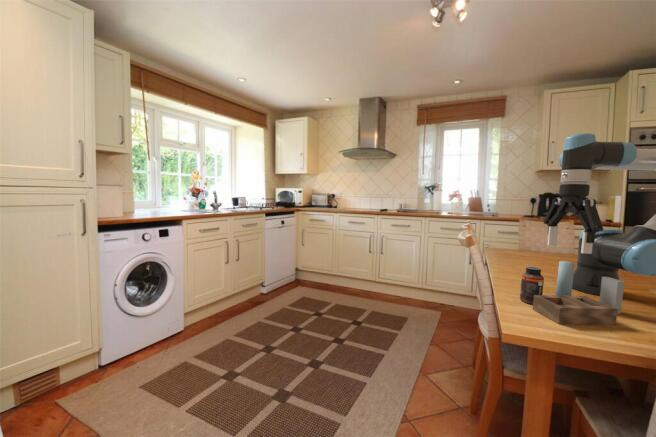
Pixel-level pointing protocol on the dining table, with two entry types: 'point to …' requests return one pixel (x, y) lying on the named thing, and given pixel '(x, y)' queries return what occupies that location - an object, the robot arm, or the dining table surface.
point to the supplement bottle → (531, 284)
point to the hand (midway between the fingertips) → (567, 249)
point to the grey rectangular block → (612, 292)
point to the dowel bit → (565, 278)
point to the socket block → (574, 310)
